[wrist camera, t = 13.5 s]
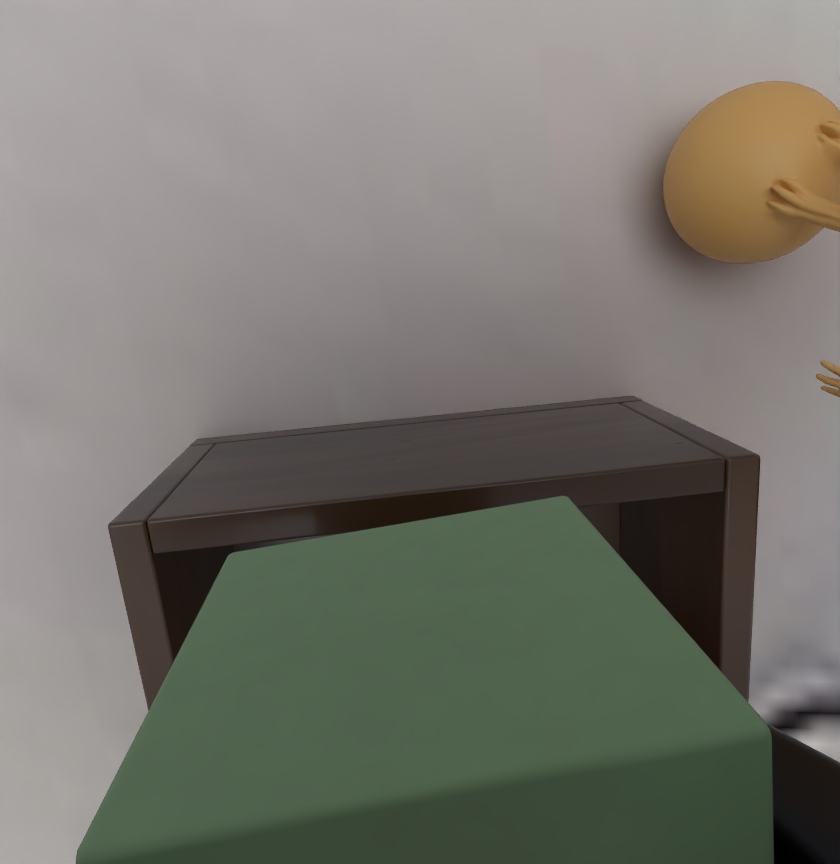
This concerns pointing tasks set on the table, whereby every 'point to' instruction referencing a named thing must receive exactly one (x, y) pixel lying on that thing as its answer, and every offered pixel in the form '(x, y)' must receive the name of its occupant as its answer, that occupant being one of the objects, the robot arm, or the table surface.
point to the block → (441, 711)
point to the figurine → (757, 176)
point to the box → (455, 507)
